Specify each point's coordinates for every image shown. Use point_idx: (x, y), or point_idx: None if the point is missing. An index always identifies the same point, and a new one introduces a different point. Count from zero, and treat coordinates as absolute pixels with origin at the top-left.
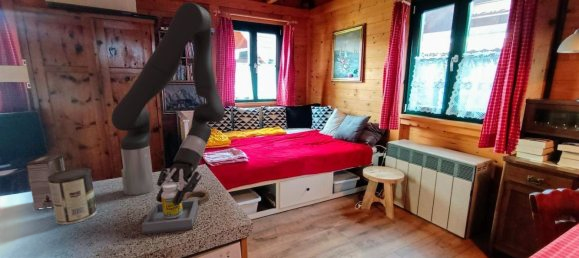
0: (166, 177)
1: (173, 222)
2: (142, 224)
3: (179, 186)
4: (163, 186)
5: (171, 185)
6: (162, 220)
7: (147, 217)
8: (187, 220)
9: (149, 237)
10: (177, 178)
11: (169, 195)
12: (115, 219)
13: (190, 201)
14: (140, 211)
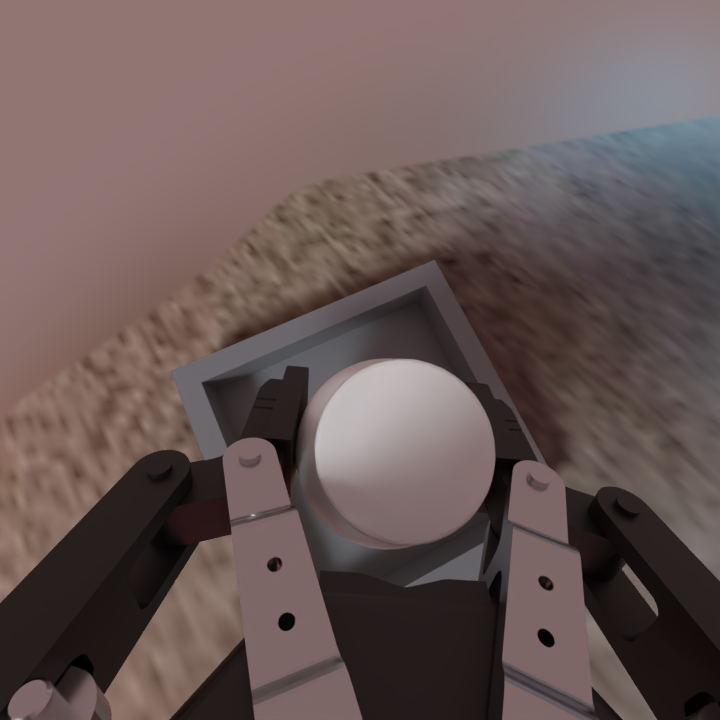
0: (580, 576)
1: (278, 328)
2: (432, 262)
3: (283, 478)
4: (454, 383)
5: (375, 435)
6: None
7: (465, 331)
8: (198, 360)
9: (372, 273)
10: (379, 602)
11: (350, 373)
12: (682, 376)
13: None
14: (636, 490)
